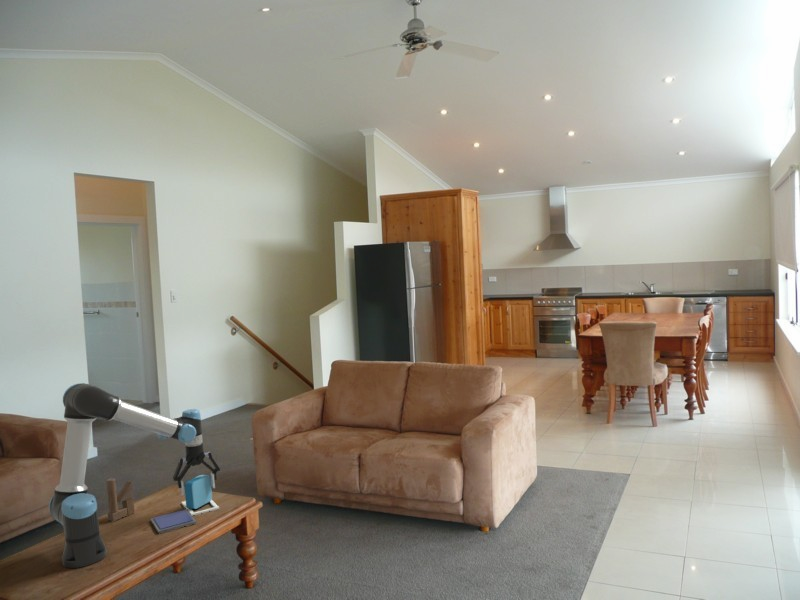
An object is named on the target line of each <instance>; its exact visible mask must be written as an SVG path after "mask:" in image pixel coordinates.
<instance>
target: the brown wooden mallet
mask: <svg viewBox="0 0 800 600" xmlns="http://www.w3.org/2000/svg"><path fill="white" fill-rule="evenodd" d="M132 482H133V481H128V480H127V481H126V482H125V484H124V485H123V486H122V489H121V490H120V492H119V494H118V495H117V484H116V479H115V478H113V477H111V478H107V479H106V480H105V484H106V492H107V503H108V511H109V512H108V513H107V520H108V521H109V520H110V521H109V522H112V521H114V522H116V521H119V520H121V519H123V518H122V517H124V518H126V517H128V515H129V516H131V515H133V514H135V513H136V512H135V503H134V490H133V483H132ZM120 503H122V505H121V506H122V507H120V508H119V504H120ZM134 512H135V513H134ZM132 513H133V514H132ZM130 514H131V515H130ZM125 516H126V517H125ZM118 519H119V520H118Z"/></svg>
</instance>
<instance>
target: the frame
mask: <svg viewBox="0 0 800 600" xmlns="http://www.w3.org/2000/svg"><path fill="white" fill-rule="evenodd" d="M180 503H182V504H181V505H182V506H183V508H184V509H185V508H186V509H187V511H188V512H189V513H190V514H191V515H192V517H193V515H195V516H198V515H201V513H202V514H205V513H209V511H210V512H213V511H217V510H220V506H219V505H217V503H216V502H215V501H214V500H213V498H212V499H211V501H210V502H208V503H209V504H210V505H211V506H212V507H209V508H205V509H203V510H198V511H194V510H193V509H191V508H187V507H186V500H183V501H181V502H180Z"/></svg>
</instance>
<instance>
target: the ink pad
mask: <svg viewBox="0 0 800 600" xmlns="http://www.w3.org/2000/svg"><path fill="white" fill-rule="evenodd" d="M150 522H151V524H152V525H154V526H153V527H154V528H155V530H156V533H159V534H158V535H160V533H161V534H163V533H164V532H165V533H168V532H170V531H171V530H172V531H175V529H176V530H178V528H179V529H181V528H180V527H183V528H185V527H184V526H186V527H188V526H187V525H190V526H193V525H192V524H194V525H197V520H196V519H195V518H194V517H193V516H192V515H191V514H190V513H189V512H188V511H187V509H185V508H184V509H182V510H177V511H173V512H169V513H166V514H162V515H158V516H154V517H151V518H150ZM167 531H168V532H167ZM172 531H171V532H172Z"/></svg>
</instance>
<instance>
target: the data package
mask: <svg viewBox="0 0 800 600" xmlns="http://www.w3.org/2000/svg"><path fill="white" fill-rule="evenodd" d="M183 486H184V497H185V501H186V507H187V508H191V509H192V510H193V509H194V510H196V509H199V508H200V507H203V506H205V505H206V504H208V503H209V502H210V501H211V499H212V500H213V492H212V483H211V475H209V474H200V475H197V476H195V477H193V478H191V479H189V480H187V481H186V482H185V483H184V484H183Z"/></svg>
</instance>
